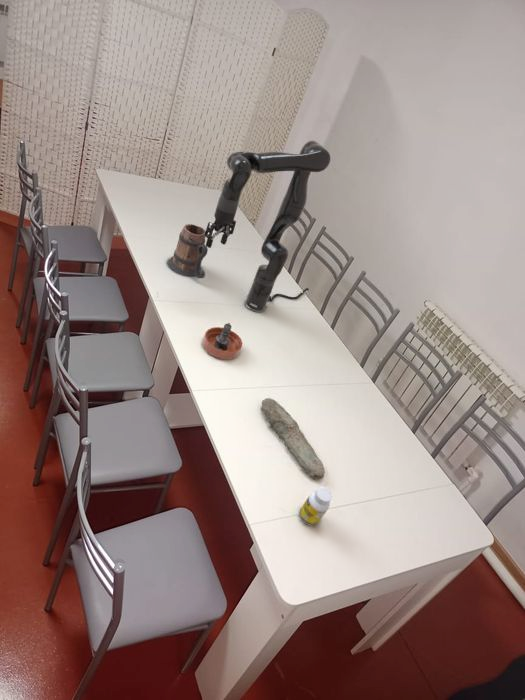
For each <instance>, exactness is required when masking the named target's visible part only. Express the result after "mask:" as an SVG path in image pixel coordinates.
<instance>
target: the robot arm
mask: <svg viewBox="0 0 525 700" xmlns="http://www.w3.org/2000/svg"><path fill="white" fill-rule="evenodd" d="M331 159H332V157H331V153H330V152H329V151H328V150H327V149H326V148H325V146H323V145H322V144H320V143H319V142H318V141H316V140H309V141H307V142H306V143H305V144H304V145H303V146H302V148H301V150H300V151H299V153H289V152H281V151H265V152H251V151H235V152H232V153H231V154H230V155H228V157H227V159H226V165H227V168H228V170H229V171H230V172H231V173H232V175H231V178H226V180H225V181H224V183H223V186H222V190H221V193H220V196H219V197H218V201H217V204H216V208H215V212H214V219H215V220H214V221H213V222H211V221H208V223H207V226H206V228H205V235H204V236H205V238H206V241H205V245H206V246H207V248H208V249H211V248H212V246H213V242H214V239H215V238H216V237H218V236H219V235H220V234H222V233H223V234H222V235H221V238H220V244H222V245H226V244H227V242H228V239H229V237H230V235H233V234H234V231H235V227H236V224H237V220H235V216H236V213H237V210H238V207H239V204H240V203H239V202H240V199H241V196H242V193H243V189H244V188H245V186H246V185H247V183H248V181H249V180H250V177H251V175H252V172H255V173H256V174H268V173H269V174H270V173H277V172H279V173H280V172H293V174H292V177H291V179H290V182H289V185H288V187H287V189H286V193H285V195H284V197H283V199H282V201H281V204H280V206H279V208H278V212H277V215H276V217H275V219H274V221H273V223H272V225H271V227H270V229H269V231H268V233H267V235H266V237H265V239H264V241H263V242H262V245H261V249H260V253H261V256H262V257H263V258H264V259H265V260H266V261H267V262H268V263H267V264H260V265H259V266H258V267H257V270H256V273H255V275H254V278H253V280H252V283H251V286H250V289H249V292H248V294H247V296H246V300H245V302H244V305H245V307H246V308H247V309H248V310H250V311H252V312H255V313H261V312H264V311H265V309H266V306H267V304H268V303H269V302H272V301H273V300H274V299H275V298H276V297H278V296H279V297H284V298H287V299H291V300H296V299H298V298H300V297H301V296H302V295H303V294H304V293H306V291H310V289H309V287H306V288H304V289H303V290H302V292H303V293H302V292H300V293H298V295H296V296H289V295H286V294H282V293H275V294H274V295H272V296H271V294H272V291H273V289H274V286H275V283H276V281H277V278H278V277H279V275H280V273H282V271H283V268H284V266H285V264H286V262H287V259H288V257H289V250H288V248H287V247H286V246H285V245H284V244H283V243H281V239H282V237H283V234H284V233H285V231H286V230H287V229H288V228H290V227H291V226H293V225H294V224H296V223H297V222H298V221H299V220H300V218H301V216H302V214H303V211H304V209H305V208H306V205H307V202H308V201H307V199H308V186H309V185H308V184H309V180H310V179H309V178H310V176H311V173H321V172H324V171H325V170H327V168H328V167H329V165H330V163H331V161H332V160H331Z"/></svg>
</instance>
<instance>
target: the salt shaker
mask: <svg viewBox="0 0 525 700" xmlns="http://www.w3.org/2000/svg"><path fill="white" fill-rule="evenodd" d="M222 328H223V329H222V331H221V332H222V333H221V335H218V336H216V343H215V344H214V345H215V347H216V348H217V349H220V350H223V351H224V350H226V349H227V345H228V344H229V343H230V339H229V338H228V336H229V335H230V330H231V331H232V325H231V323H230V322H227V323H225V324H224V325H223V327H222Z"/></svg>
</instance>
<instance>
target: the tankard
mask: <svg viewBox="0 0 525 700" xmlns="http://www.w3.org/2000/svg"><path fill="white" fill-rule="evenodd" d="M205 231H206V229H204V228H203V227H201V226H198V225H196V224H192V223H187V224H184V225H183V227H182V230H181V231H180V233H179V234H178V235H179V236H178V241H177V244H176V248H175V250H174V252H173V256H172V257H170V258H169V259H168V260H167V266H168V268H169V269H170V270H171V271H172V272H173V273H175V274H177V275H180V276H182V277H183V276H184V277H189V278H190V277H191V278H193V277H196V279H204V278H205V277H206V272H205V270H204V269H202V266H201V265H202V262H203V259H204V258H205V257H206V256H207V254H208V249H209V248H208V247H207V246H206V237H205V236H204V235H205Z"/></svg>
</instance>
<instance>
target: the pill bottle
mask: <svg viewBox="0 0 525 700" xmlns="http://www.w3.org/2000/svg"><path fill="white" fill-rule="evenodd" d="M332 498H333V496H332V493H331V491H330V490H329V489H328V488H326V487H318V488H317V489H316V490H315V491H312V492H311V493H309V495H308V497H307V498H306V500H305V501H304V503H303V504H302V506H301V508H300V509H299V517H300V519H301V520H302V522H303V523H304V524H306V525H309V526H315V525H317V524H318V523H319V522H320V521H321V520H322V518H323V517H324V515H325V514H326V513H327V511H328V510H329V508H330V505H331V500H332Z"/></svg>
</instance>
